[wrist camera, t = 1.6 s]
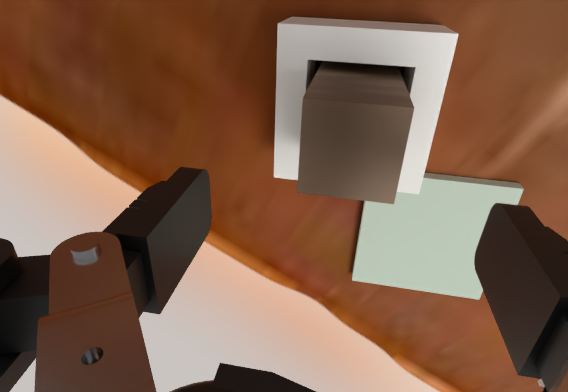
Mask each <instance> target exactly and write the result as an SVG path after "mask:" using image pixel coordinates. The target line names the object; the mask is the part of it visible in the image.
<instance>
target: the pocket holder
mask: <svg viewBox="0 0 568 392" xmlns="http://www.w3.org/2000/svg"><path fill="white" fill-rule="evenodd" d="M458 35H459V34H458V33H456V32H454V31H453V30H451V29H449V28H447V27H445V26H443V25H434V24H416V23H398V22H380V21H362V20H344V19H326V18H308V17H290V18H288V19H286V20H284V21H282V22H279V23H278V31H277V70H276V110H275V149H274V177H276V178H284V179H293V180H298V167H299V151H300V135H301V118H302V102H303V97H304V95H305V93H306V91H307V89H308V87H309V86H310V84H311V82H312V80H313V78H314V76H315V64H316V60H321V61H335V62H349V63H363V64H377V65H391V66H405V68H404V73H403V80H404V83H405V85H406V88H407V90H408V93H409V95H410V98H411V101H412V103H413V106H414V112H413V117H412V122H411V126H410V131H409V136H408V140H407V145H406V150H405V155H404V159H403V164H402V169H401V173H400V178H399V183H398V188H397V192H403V193H412V194H419V193H420V189H421V185H422V181H423V177H424V173H425V169H426V165H427V161H428V157H429V152H430V148H431V144H432V140H433V136H434V132H435V128H436V124H437V120H438V116H439V112H440V108H441V104H442V100H443V96H444V92H445V88H446V84H447V80H448V76H449V71H450V67H451V63H452V59H453V55H454V51H455V47H456V43H457V39H458Z"/></svg>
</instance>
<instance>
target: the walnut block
mask: <svg viewBox="0 0 568 392" xmlns="http://www.w3.org/2000/svg"><path fill="white" fill-rule="evenodd" d="M413 112H414V106H413V103H412V101H411V98H410V95H409V93H408V90H407V88H406V85H405V83H404V80H403V78H402V75H401V73H400V70H399V68H398V66H391V65H377V64H363V63H349V62H335V61H322V63H321V65H320V67H319V69H318V71H317V72H316V74H315V76H314V78H313V80H312V82H311V84H310V86H309V87H308V89H307V91H306V93H305V95H304V97H303V102H302V118H301V135H300V151H299V167H298V184H297V193H305V194H313V195H321V196H330V197H338V198H346V199H354V200H362V201H370V202H379V203H387V204H394V202H395V197H396V192H397V188H398V183H399V178H400V173H401V169H402V164H403V159H404V155H405V150H406V145H407V140H408V136H409V131H410V126H411V122H412V117H413Z"/></svg>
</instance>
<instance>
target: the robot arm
mask: <svg viewBox="0 0 568 392" xmlns="http://www.w3.org/2000/svg"><path fill="white" fill-rule="evenodd" d="M211 218H212V214H211V199H210V184H209V175H208V172H207V170H205V169H196V168H187V167H180V168H179V169H178V170H177V171H176V172H175V173H174V174H173V175H172V176H171V177H170V178H169V179H168V180H167V181H161V182H159V183H157V184H155V185H153V186H151V187H149V188H147V189H146V190H145V191H144V192H143V193H142V194H141V195H140V196H139V197H138V198H137V200H134V201H133V202H132V203H131V204H130V205H129V208H126V209H125V210H124V211H123V212H122V213H121V214H120V215H119V216H118V217H117V218H116V219H115V220H114V221H113V222H112V223H111V224H110V225H108V226H107V228H106V229H104V230H103V231H102V232H89V233H84V234H80V235H77V236H74V237H72V238H69V239H67V240H65V241H64V242H62V243H61V244H59V245H58V246H57V247H56V248H55V249H54V250H53V251H52V253H51V255H42V256H29V257H18V256H17V254H16V252H15V249H14V246H13V244H12V243H11V242H10V241H8V240H5V239H1V238H0V392H9V391H10V390H11V389H12V388H13V386H14V385H15V384H16V383H17V381H18V380H19V379H20V377H21V376H22V375H23V373H24V372H25V371H26V370H27V368H28V367H29V366H30V365H31V363H32V362H33V361H34V360H35V358H36V372H35V392H156V388H155V384H154V380H153V376H152V372H151V368H150V364H149V359H148V355H147V351H146V347H145V343H144V339H143V334H142V330H141V326H140V322H139V317H140V315H141V314H142V313H143V312H149V313H155V314H160V313H161V312H162V310H163V308H164V307H165V305H166V303H167V302H168V300H169V298H170V297H171V295H172V293H173V292H174V290H175V288H176V287H177V285H178V283H179V282H180V280H181V278H182V276H183V275H184V273H185V272H186V270H187V268H188V266H189V265H190V263H191V262H192V260H193V258H194V257H195V255H196V253H197V251H198V250H199V248H200V247H201V245H202V243H203V242H204V240H205V238H206V237H207V235H208V233H209V230H210V226H211ZM474 265H475V271H476V274H477V276H478V279H479V281H480V283H481V286H482V288H483V291H484V293H485V296H486V298H487V300H488V303H489V305H490V308H491V310H492V313H493V315H494V318H495V320H496V322H497V325H498V327H499V330H500V332H501V335H502V337H503V339H504V342H505V344H506V347H507V349H508V352H509V354H510V357H511V359H512V361H513V364H514V366H515V369H516V371H517V374H518V375H521V376H527V377H533V378H539V379H542V381H543V383H544V385H545V387H544V388H543V390H542V391H541V392H568V241H567V240H566V239H565V238H563V237H562V236H560V235H559V234H557V233H556V232H555V231H553V230H552V229H550V228H549V227H544V225H543V224H542V223H541V221H540V220H539V219H538V218H537V216H536V215H535V214H534V212H533V211H532V210H531V209H530V208H529V207H528V206H521V205H512V204H504V203H496V204H494V205H493V206H492V208H491V210H490V212H489V215H488V218H487V221H486V223H485V226H484V229H483V232H482V234H481V237H480V240H479V243H478V245H477V248H476V252H475V258H474ZM171 392H316V391H313V390H311V389H309V388H307V387H304V386H302V385H300V384H297V383H295V382H293V381H290V380H289V379H286V378H284V377H282V376H280V375H277V374H275V373H273V372H267V371H262V370H256V369H250V368H245V367H240V366H234V365H228V364H223V363H220V365H219V368H218V370H217V373H216V376H215V378H214V380H212V381H203V382H198V383H193V384H190V385H187V386H183V387H180V388H178V389H175V390H173V391H171Z"/></svg>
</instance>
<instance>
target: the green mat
mask: <svg viewBox="0 0 568 392" xmlns="http://www.w3.org/2000/svg"><path fill="white" fill-rule="evenodd" d="M523 190H524V189H523V187H522V186H521V185H520V183H515V182H506V181H497V180H488V179H479V178H470V177H461V176H451V175H442V174H433V173H424V177H423V181H422V185H421V189H420V193H419V194H412V193H403V192H396V197H395V202H394V204H387V203H379V202H370V201H364V205H363V211H362V217H361V223H360V229H359V235H358V241H357V247H356V253H355V259H354V265H353V272H352V280H353V281H360V282H367V283H373V284H380V285H386V286H393V287H399V288H406V289H413V290H419V291H426V292H432V293H439V294H445V295H452V296H459V297H465V298H472V299H478V300H479V299H480V297H481V294H482V292H483V288H482V286H481V283H480V281H479V279H478V276H477V274H476V271H475V265H474V258H475V252H476V248H477V245H478V243H479V240H480V237H481V234H482V232H483V229H484V226H485V223H486V221H487V218H488V215H489V212H490V210H491V208H492V206H493V205H494V204H496V203H504V204H512V205H518V202H519V200H520V197H521V195H522V192H523Z"/></svg>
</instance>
